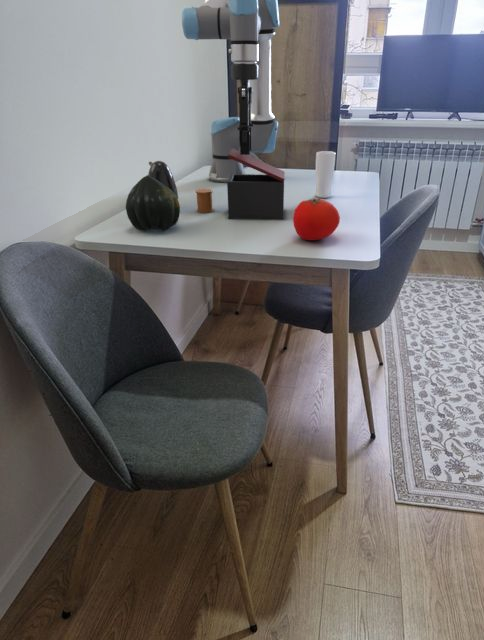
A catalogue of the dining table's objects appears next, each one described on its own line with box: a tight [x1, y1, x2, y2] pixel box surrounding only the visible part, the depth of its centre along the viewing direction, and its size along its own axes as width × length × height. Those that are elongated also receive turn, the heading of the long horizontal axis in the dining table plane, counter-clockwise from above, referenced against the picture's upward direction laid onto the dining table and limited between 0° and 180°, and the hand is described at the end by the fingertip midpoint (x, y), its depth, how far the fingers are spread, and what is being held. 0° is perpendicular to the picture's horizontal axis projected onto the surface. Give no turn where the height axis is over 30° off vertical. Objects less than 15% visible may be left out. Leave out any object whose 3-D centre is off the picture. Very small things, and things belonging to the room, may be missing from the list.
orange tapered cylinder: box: [195, 188, 214, 214], centre depth 153 cm, size 5×5×6 cm
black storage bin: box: [226, 173, 285, 220], centre depth 149 cm, size 17×12×11 cm
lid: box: [228, 148, 286, 183], centre depth 143 cm, size 18×12×8 cm
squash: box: [125, 174, 181, 232], centre depth 136 cm, size 14×15×15 cm
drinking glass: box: [315, 150, 336, 199], centre depth 169 cm, size 7×7×15 cm
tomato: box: [292, 197, 341, 241], centre depth 127 cm, size 13×12×11 cm
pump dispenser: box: [147, 160, 179, 199], centre depth 153 cm, size 10×10×15 cm
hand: (246, 152), depth 143 cm, fingers closed on lid, 7 cm apart
